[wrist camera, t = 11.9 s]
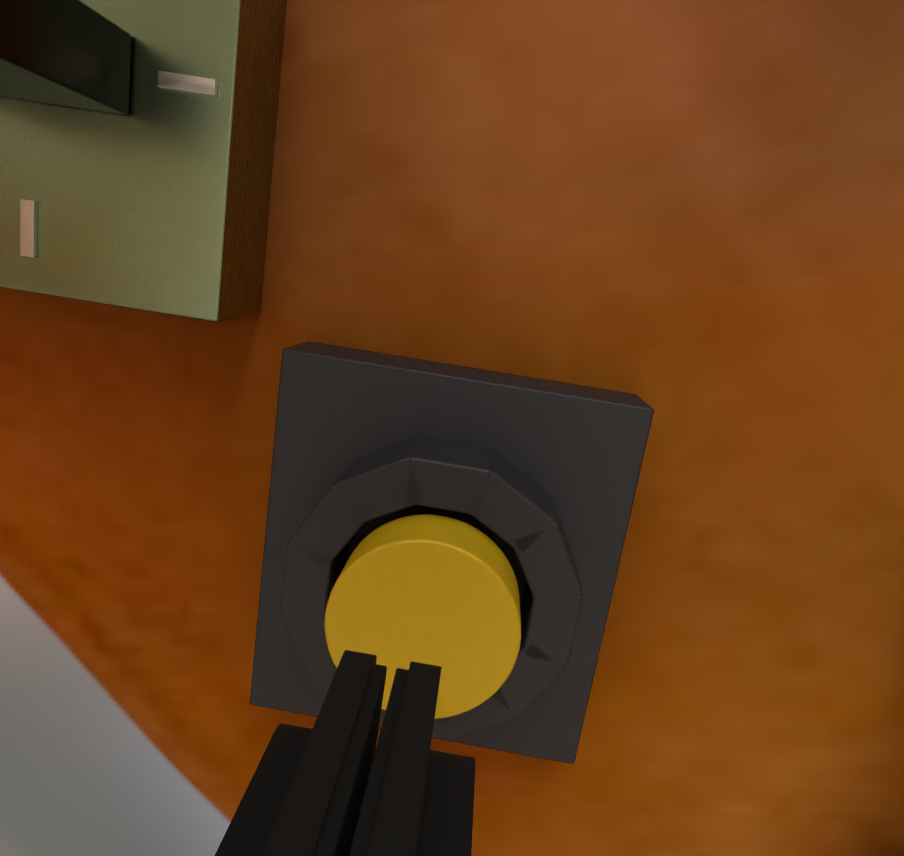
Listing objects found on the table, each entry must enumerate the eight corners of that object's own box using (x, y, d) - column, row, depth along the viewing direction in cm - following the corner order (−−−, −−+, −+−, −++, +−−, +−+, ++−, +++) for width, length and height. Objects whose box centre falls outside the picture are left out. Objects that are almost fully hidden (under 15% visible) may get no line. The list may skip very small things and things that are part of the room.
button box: (306, 340, 20) (251, 357, 15) (637, 394, 19) (676, 426, 15) (274, 662, 22) (218, 755, 18) (567, 715, 22) (583, 824, 17)
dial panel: (-68, -150, 18) (-188, -242, 15) (295, -102, 17) (250, -185, 14) (-58, 265, 20) (-159, 262, 17) (260, 316, 20) (215, 322, 17)
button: (352, 499, 16) (334, 523, 15) (534, 530, 16) (537, 559, 15) (332, 661, 17) (313, 701, 16) (502, 691, 17) (503, 736, 16)
